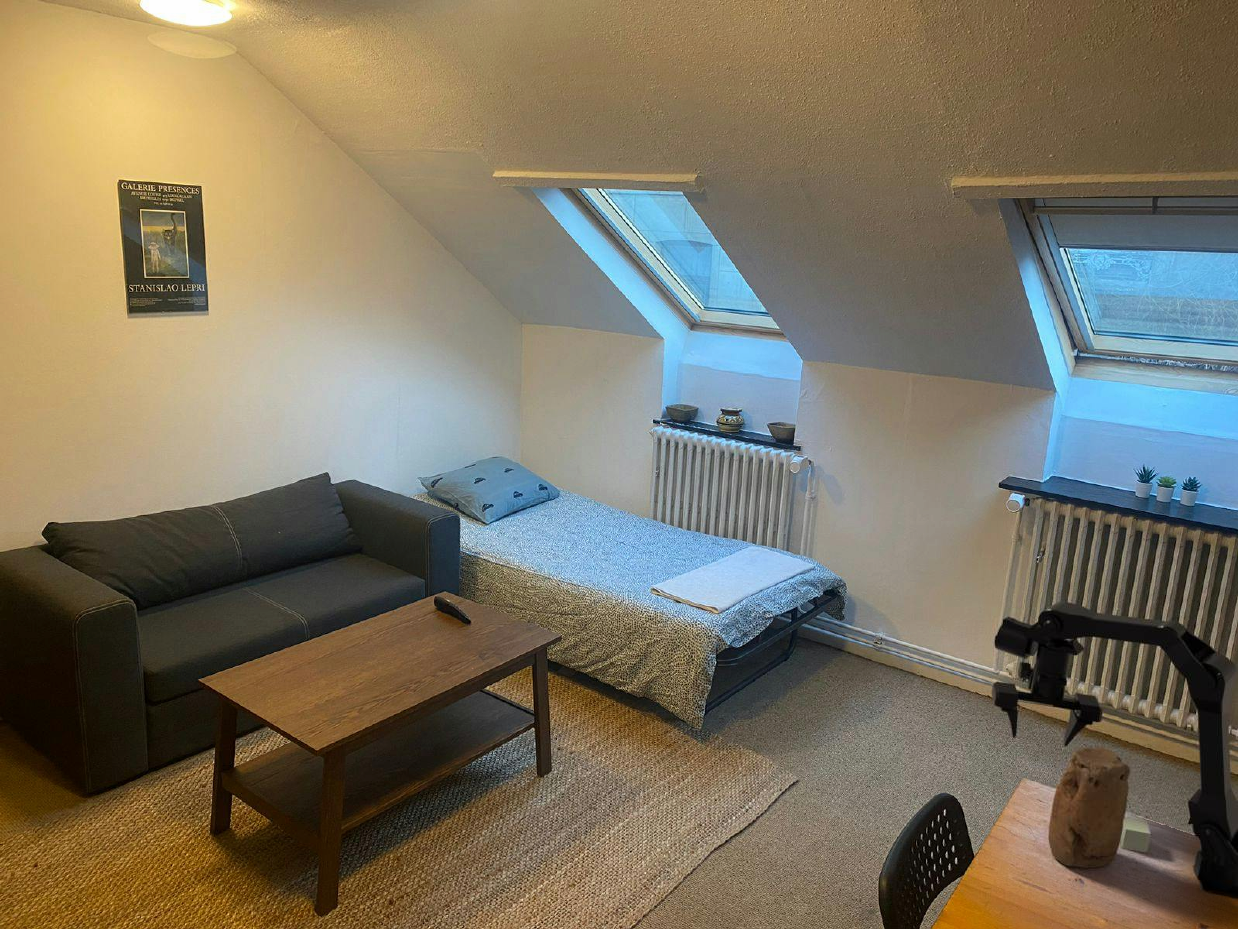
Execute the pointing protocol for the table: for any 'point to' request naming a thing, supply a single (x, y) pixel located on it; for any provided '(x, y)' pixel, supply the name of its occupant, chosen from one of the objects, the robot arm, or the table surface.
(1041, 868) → the table surface
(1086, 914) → the table surface
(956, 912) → the table surface
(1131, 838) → the sage cube
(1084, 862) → the brown stone
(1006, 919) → the table surface
